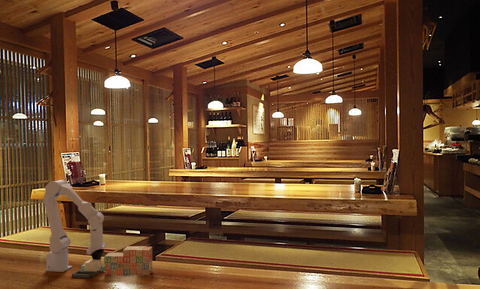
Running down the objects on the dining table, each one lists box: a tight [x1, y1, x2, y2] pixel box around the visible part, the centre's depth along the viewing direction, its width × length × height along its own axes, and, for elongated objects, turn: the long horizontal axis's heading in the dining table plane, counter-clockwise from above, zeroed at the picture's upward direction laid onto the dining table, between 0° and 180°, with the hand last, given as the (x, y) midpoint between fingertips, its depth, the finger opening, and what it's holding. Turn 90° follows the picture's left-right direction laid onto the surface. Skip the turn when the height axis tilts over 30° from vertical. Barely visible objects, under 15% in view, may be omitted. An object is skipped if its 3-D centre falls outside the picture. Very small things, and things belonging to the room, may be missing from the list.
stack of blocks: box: [103, 245, 153, 277], centre depth 181 cm, size 21×6×12 cm, turn 87°
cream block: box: [84, 258, 101, 273], centre depth 184 cm, size 5×5×5 cm
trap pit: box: [71, 270, 98, 279], centre depth 178 cm, size 10×5×2 cm, turn 80°
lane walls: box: [80, 263, 105, 273], centre depth 189 cm, size 12×10×2 cm
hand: (97, 264), depth 188 cm, fingers closed
